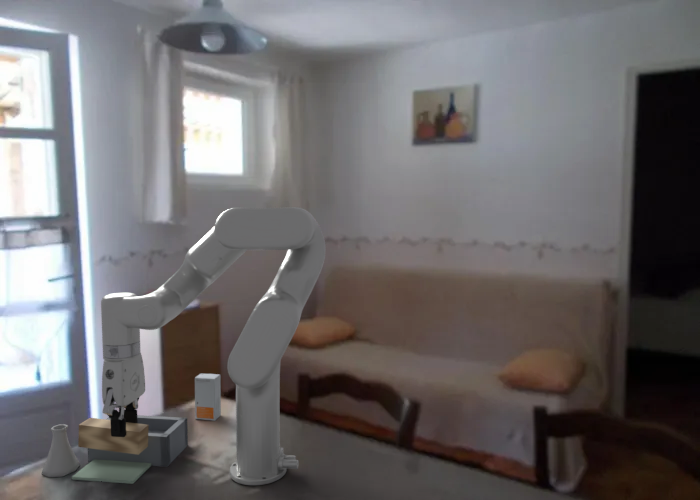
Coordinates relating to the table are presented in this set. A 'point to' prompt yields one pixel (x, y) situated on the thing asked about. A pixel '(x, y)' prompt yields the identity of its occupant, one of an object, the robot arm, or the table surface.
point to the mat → (112, 471)
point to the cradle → (153, 442)
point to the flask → (60, 454)
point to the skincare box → (207, 396)
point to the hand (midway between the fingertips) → (124, 430)
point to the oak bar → (99, 437)
